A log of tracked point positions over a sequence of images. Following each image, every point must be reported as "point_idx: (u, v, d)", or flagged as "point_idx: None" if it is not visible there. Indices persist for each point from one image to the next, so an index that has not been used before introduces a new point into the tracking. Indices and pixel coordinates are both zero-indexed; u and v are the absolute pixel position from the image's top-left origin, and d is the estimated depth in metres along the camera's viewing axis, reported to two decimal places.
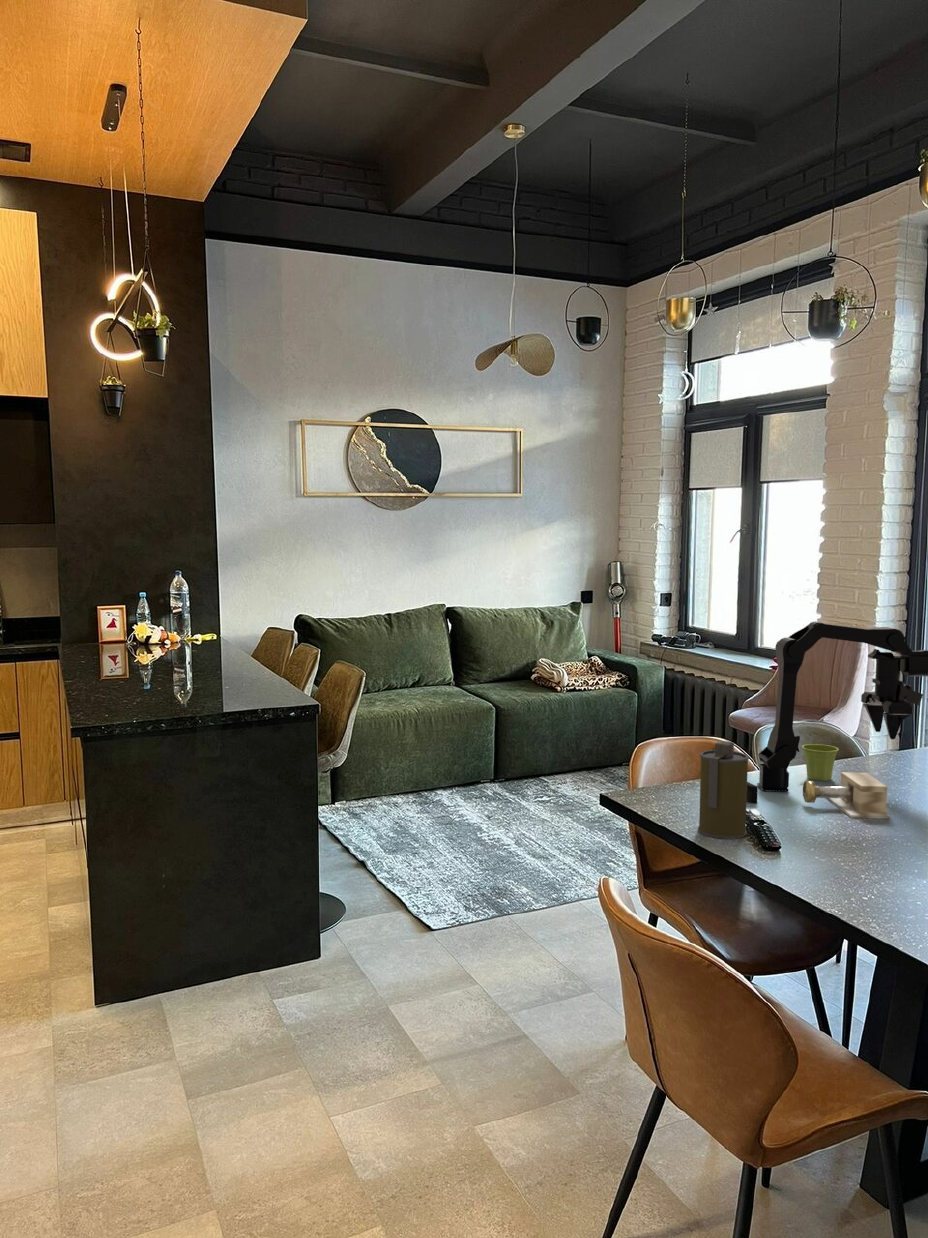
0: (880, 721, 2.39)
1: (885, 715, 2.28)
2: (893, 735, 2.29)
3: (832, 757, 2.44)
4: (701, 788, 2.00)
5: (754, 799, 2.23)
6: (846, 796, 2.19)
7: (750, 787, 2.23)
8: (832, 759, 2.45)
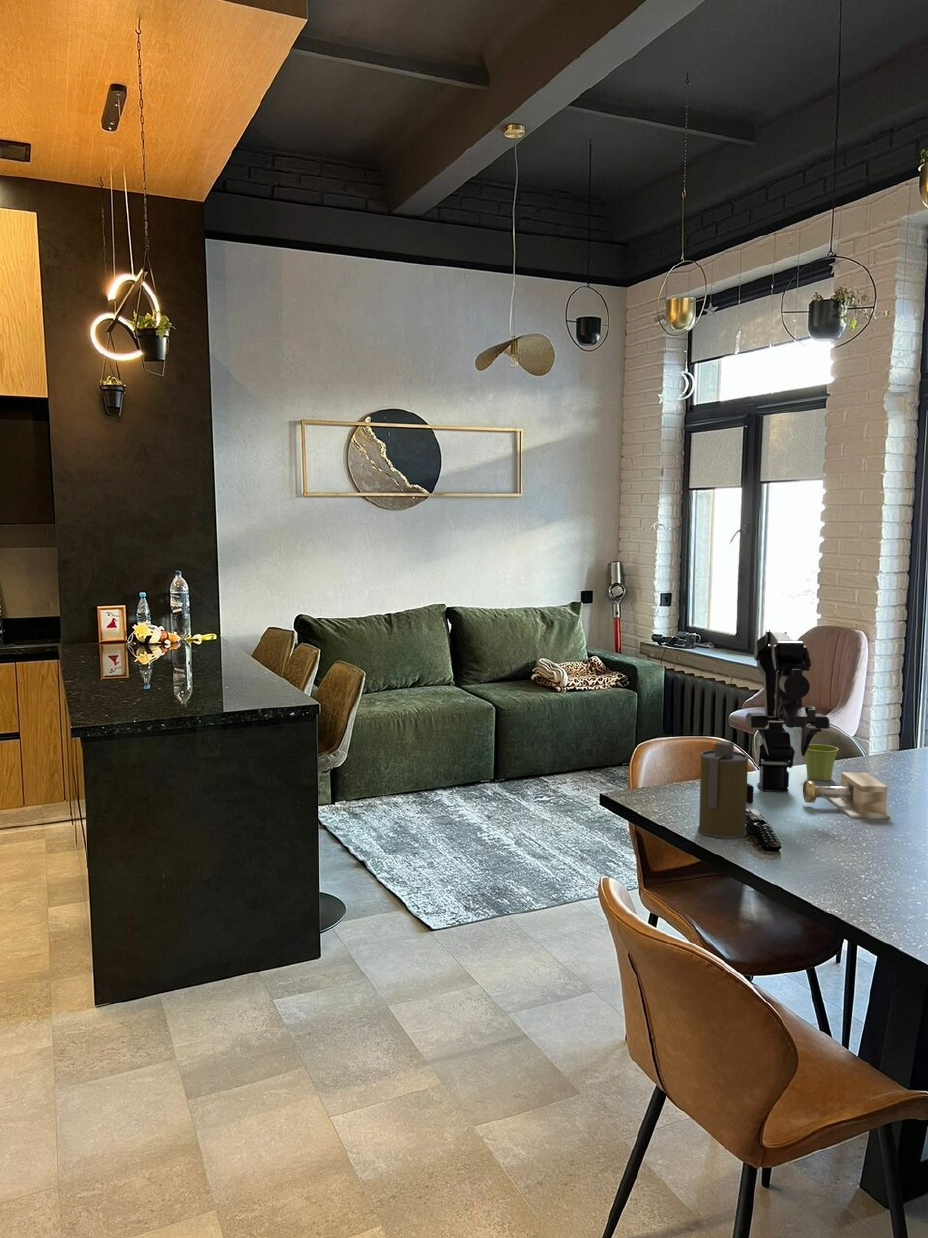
0: (803, 744, 2.20)
1: None
2: (767, 750, 2.20)
3: (832, 757, 2.44)
4: (701, 788, 2.00)
5: (749, 799, 2.23)
6: (846, 796, 2.19)
7: None
8: (832, 759, 2.45)
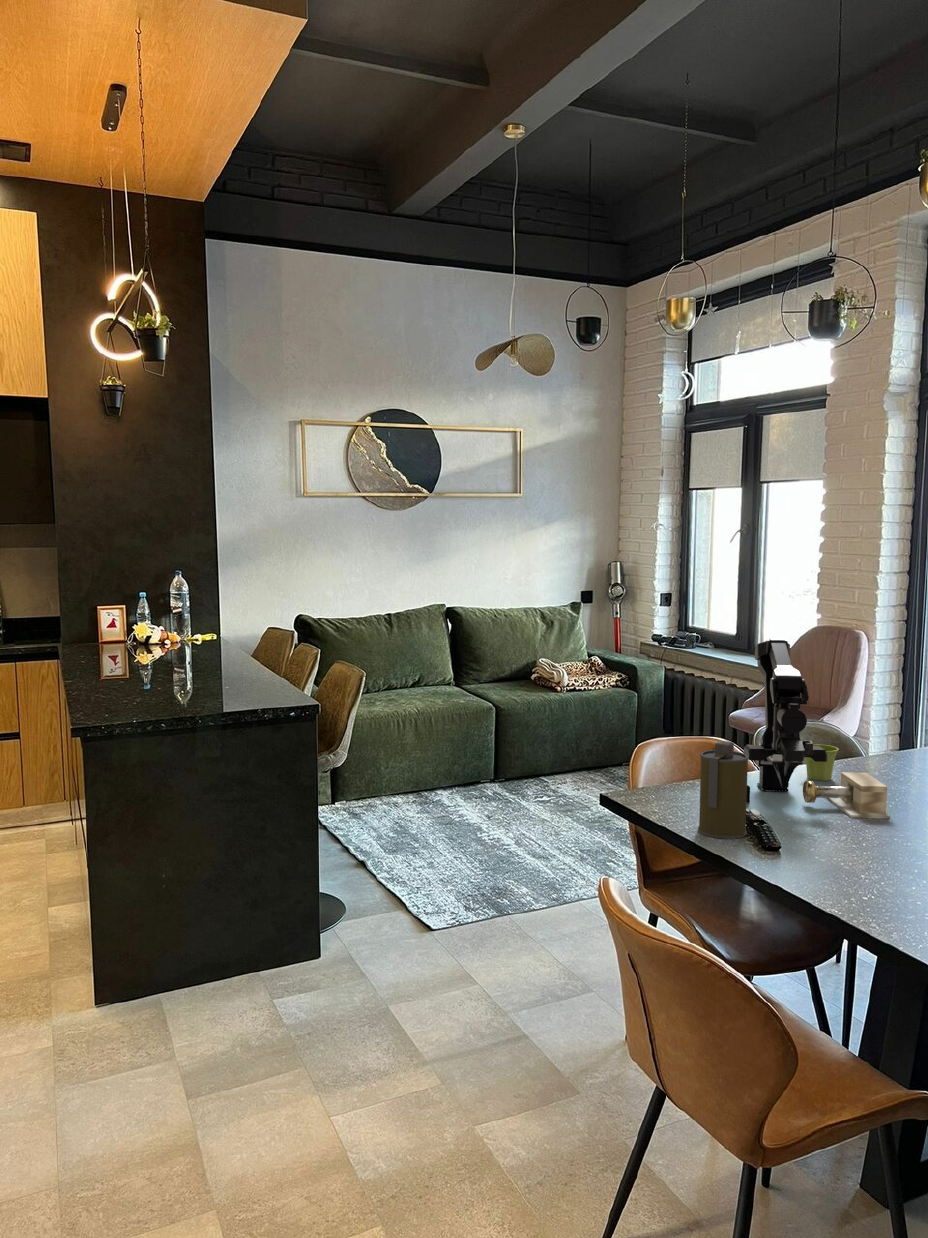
0: (785, 777, 2.20)
1: None
2: (781, 783, 2.21)
3: (832, 757, 2.44)
4: (701, 788, 2.00)
5: None
6: (846, 796, 2.19)
7: None
8: (832, 759, 2.45)
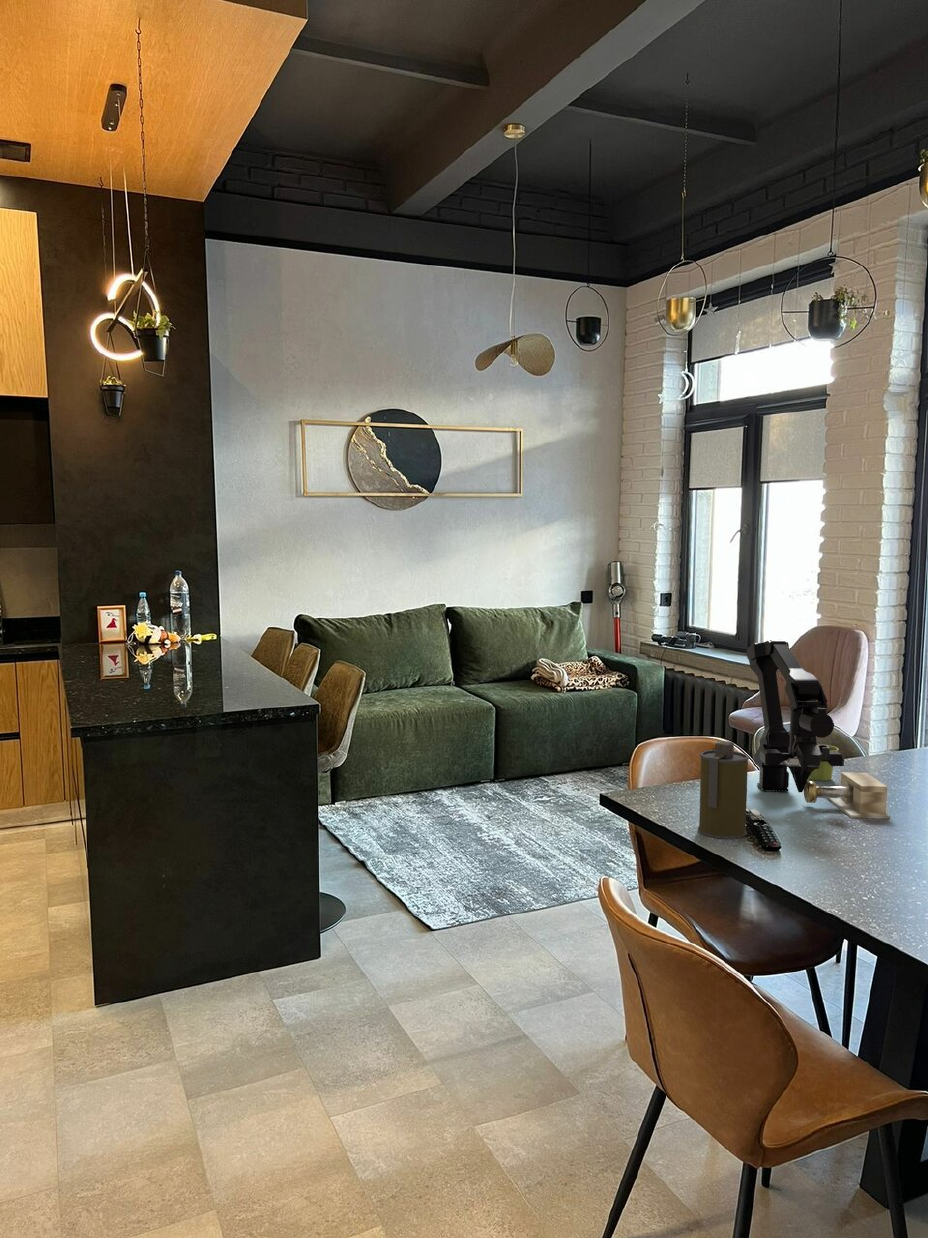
0: (801, 781, 2.20)
1: None
2: (797, 787, 2.21)
3: None
4: (701, 788, 2.00)
5: None
6: (847, 796, 2.19)
7: None
8: None
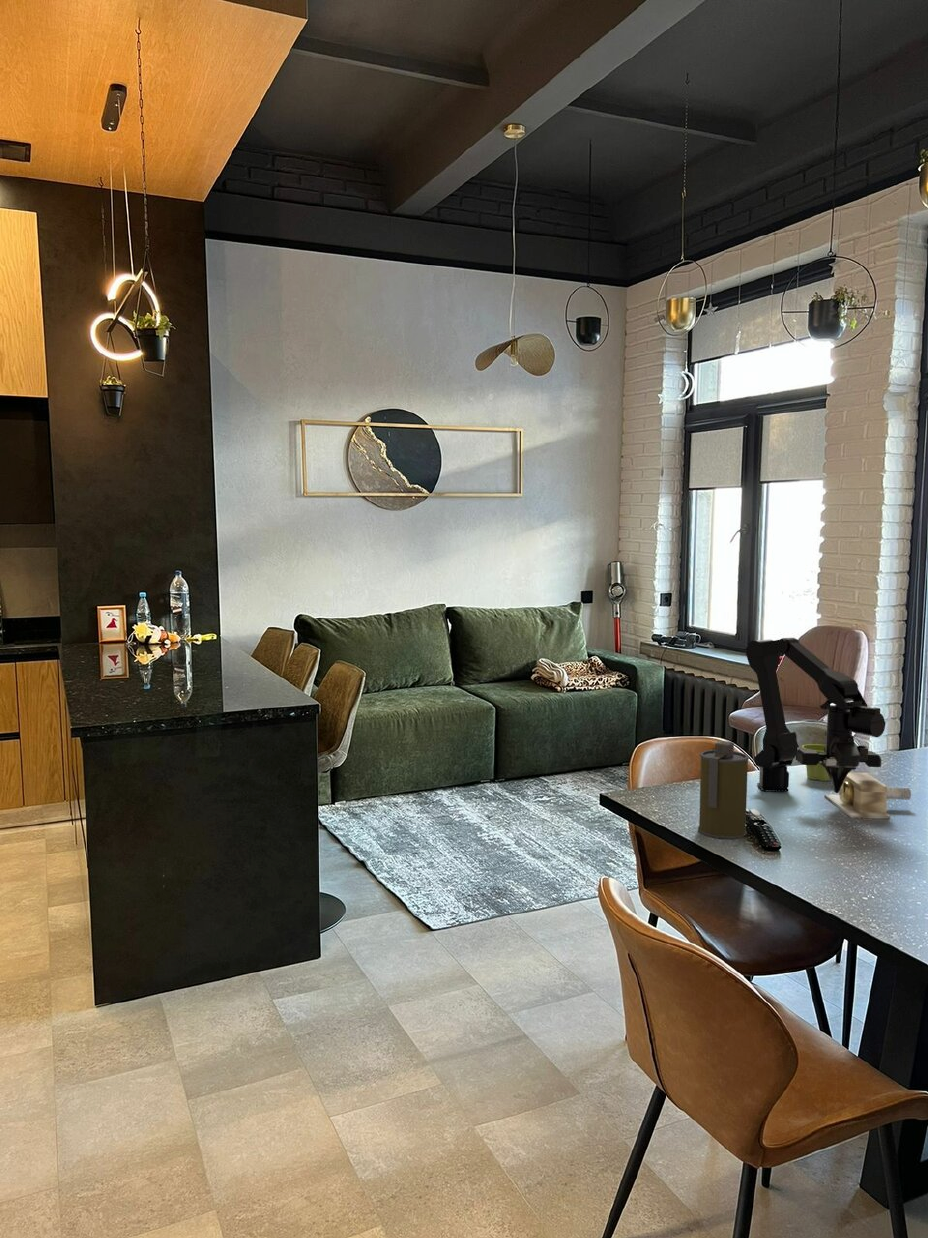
0: None
1: None
2: (834, 788, 2.20)
3: None
4: (701, 788, 2.00)
5: None
6: None
7: None
8: None
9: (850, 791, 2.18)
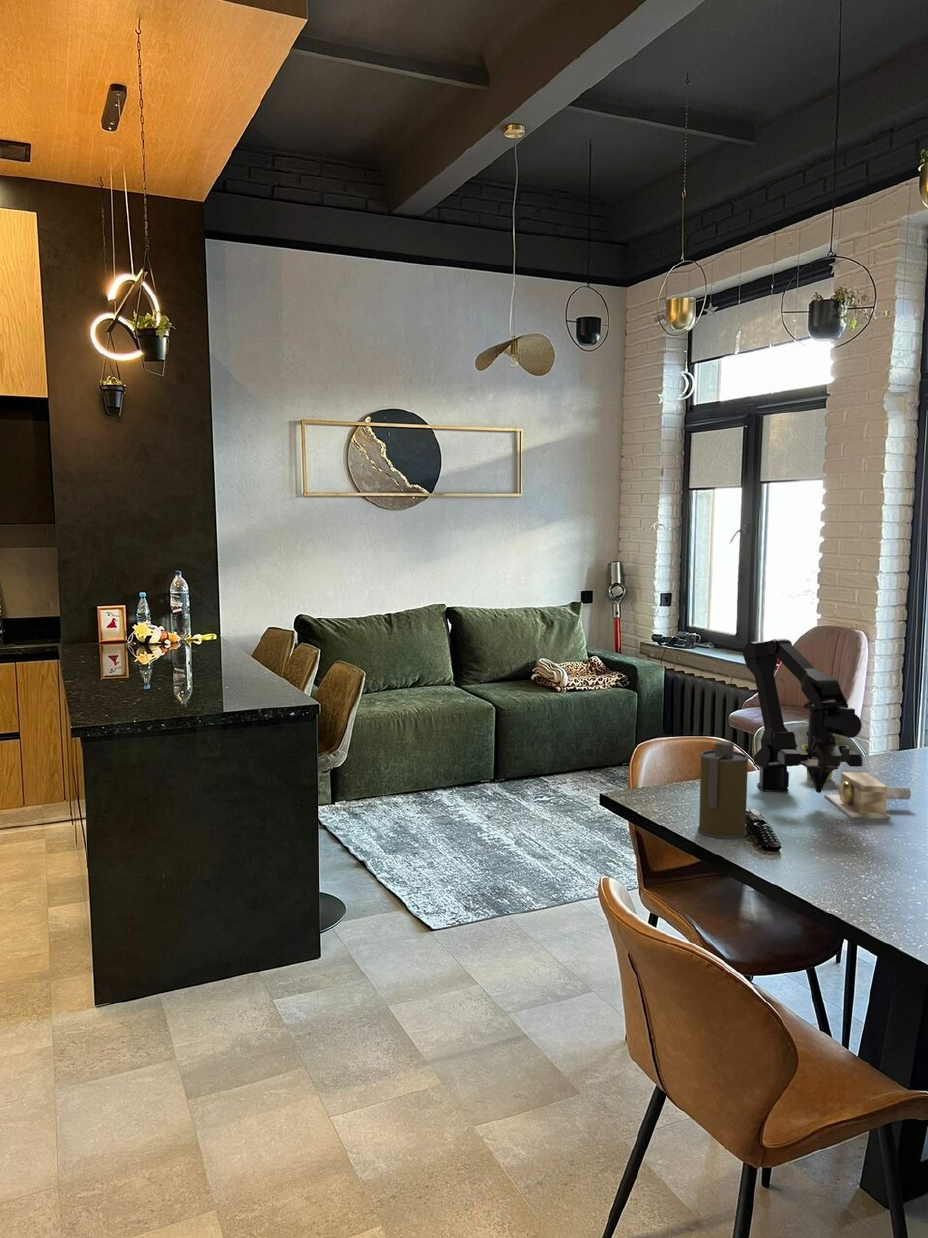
0: (820, 781, 2.20)
1: None
2: (815, 788, 2.21)
3: None
4: (701, 788, 2.00)
5: None
6: None
7: None
8: None
9: (850, 791, 2.18)
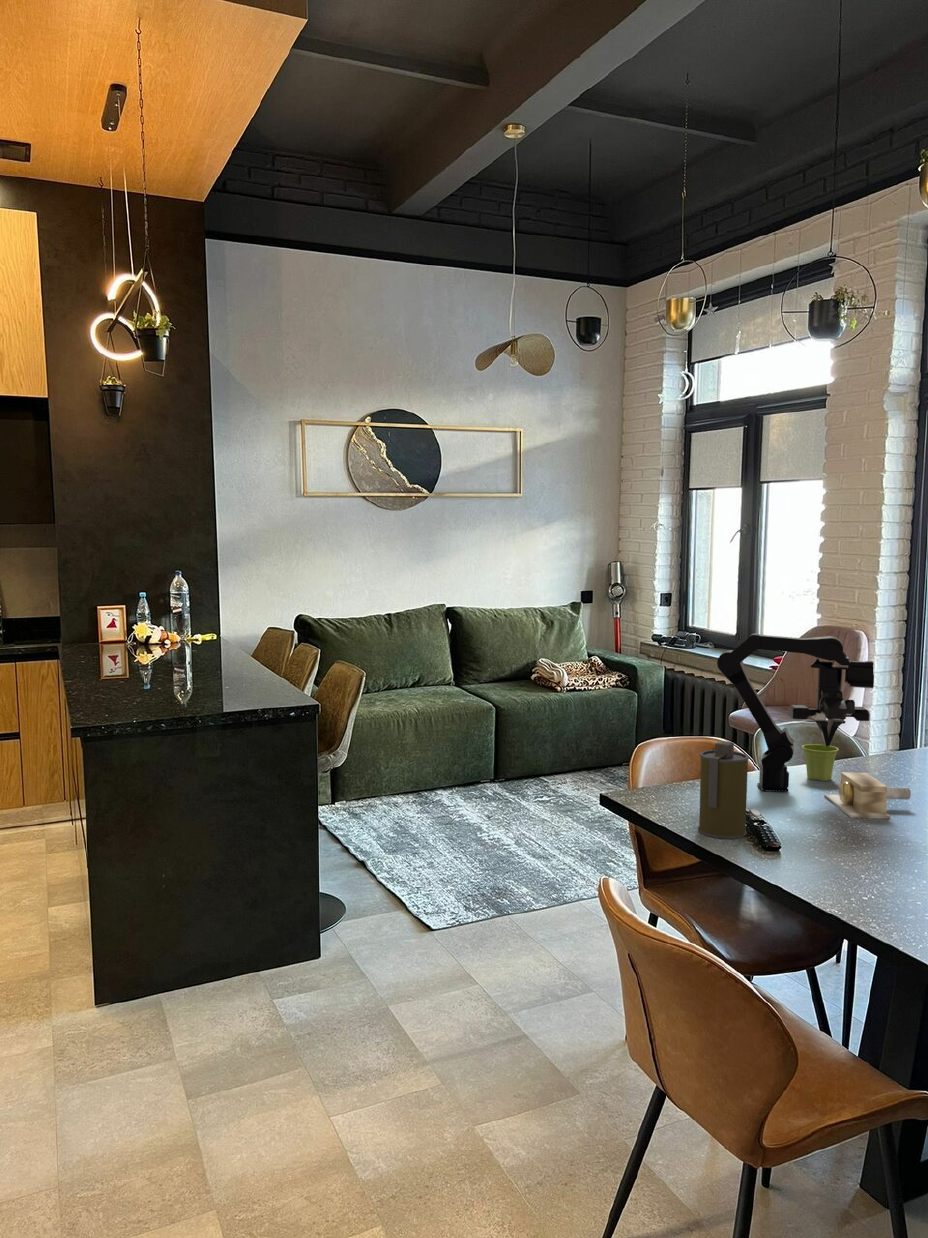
0: (828, 735, 2.31)
1: None
2: (824, 741, 2.31)
3: (832, 757, 2.44)
4: (701, 788, 2.00)
5: None
6: None
7: None
8: (832, 759, 2.45)
9: (850, 791, 2.18)
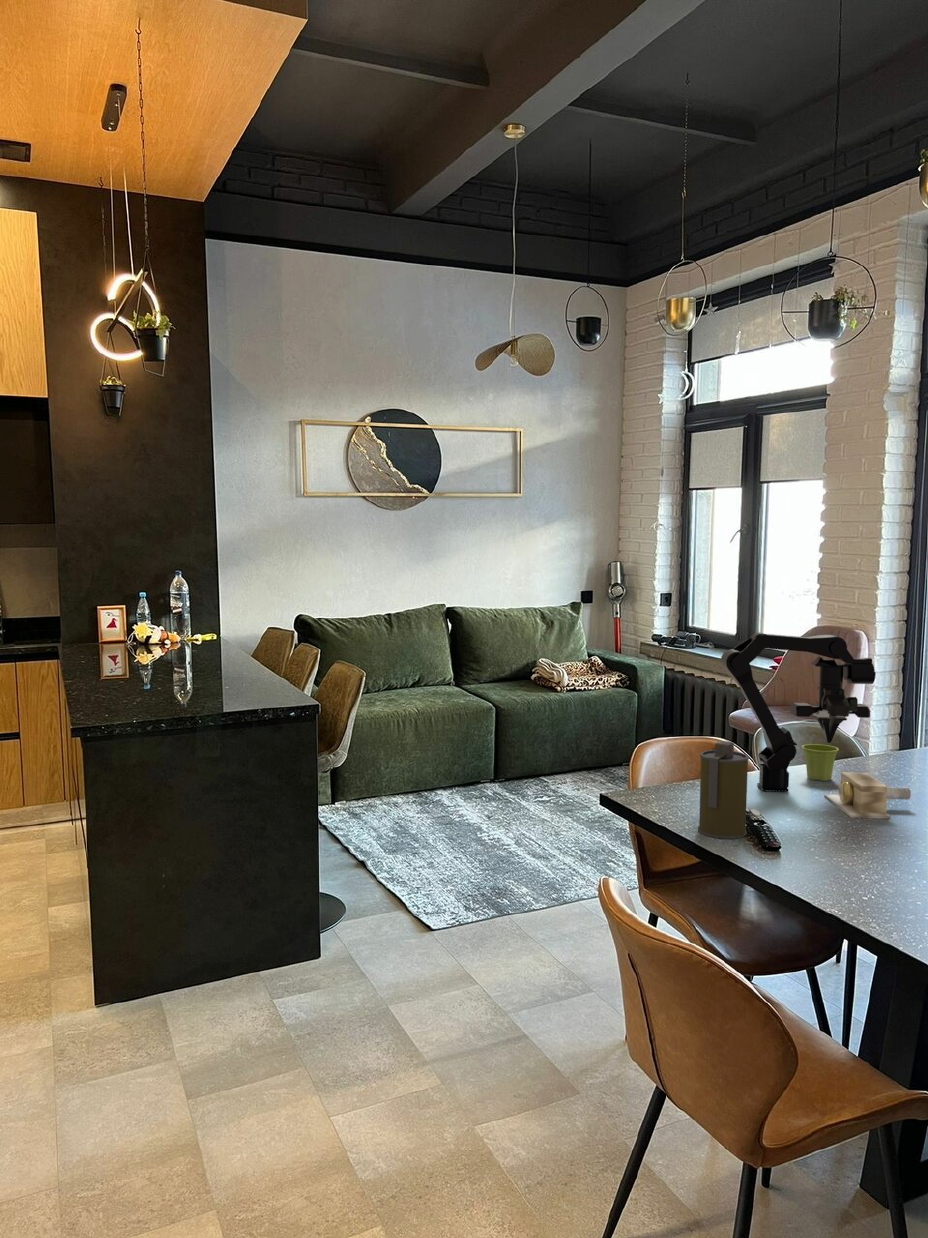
0: (830, 732, 2.35)
1: None
2: (826, 738, 2.35)
3: (832, 757, 2.44)
4: (701, 788, 2.00)
5: None
6: None
7: None
8: (832, 759, 2.45)
9: (850, 791, 2.18)
